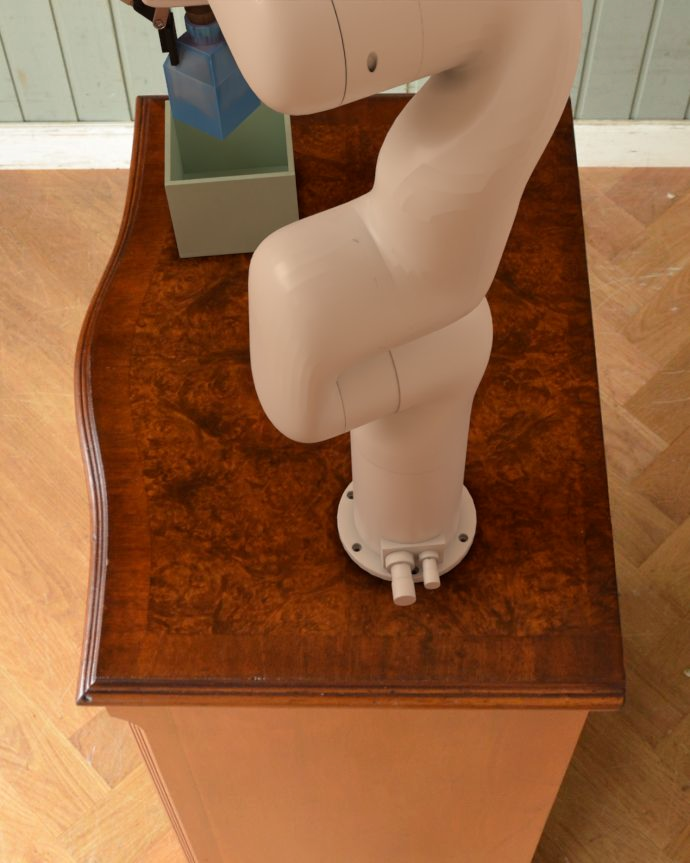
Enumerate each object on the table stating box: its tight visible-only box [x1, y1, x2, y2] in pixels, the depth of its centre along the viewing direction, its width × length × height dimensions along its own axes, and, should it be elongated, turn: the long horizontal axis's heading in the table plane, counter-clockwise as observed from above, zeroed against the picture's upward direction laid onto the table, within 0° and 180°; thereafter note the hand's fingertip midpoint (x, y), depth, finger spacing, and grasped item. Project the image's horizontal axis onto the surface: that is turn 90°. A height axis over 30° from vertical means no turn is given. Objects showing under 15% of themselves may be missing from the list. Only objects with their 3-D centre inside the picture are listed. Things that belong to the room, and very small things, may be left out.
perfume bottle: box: [162, 5, 261, 140], centre depth 108 cm, size 6×6×12 cm
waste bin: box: [164, 99, 300, 259], centre depth 124 cm, size 13×13×11 cm
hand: (208, 52), depth 107 cm, fingers closed on perfume bottle, 5 cm apart
